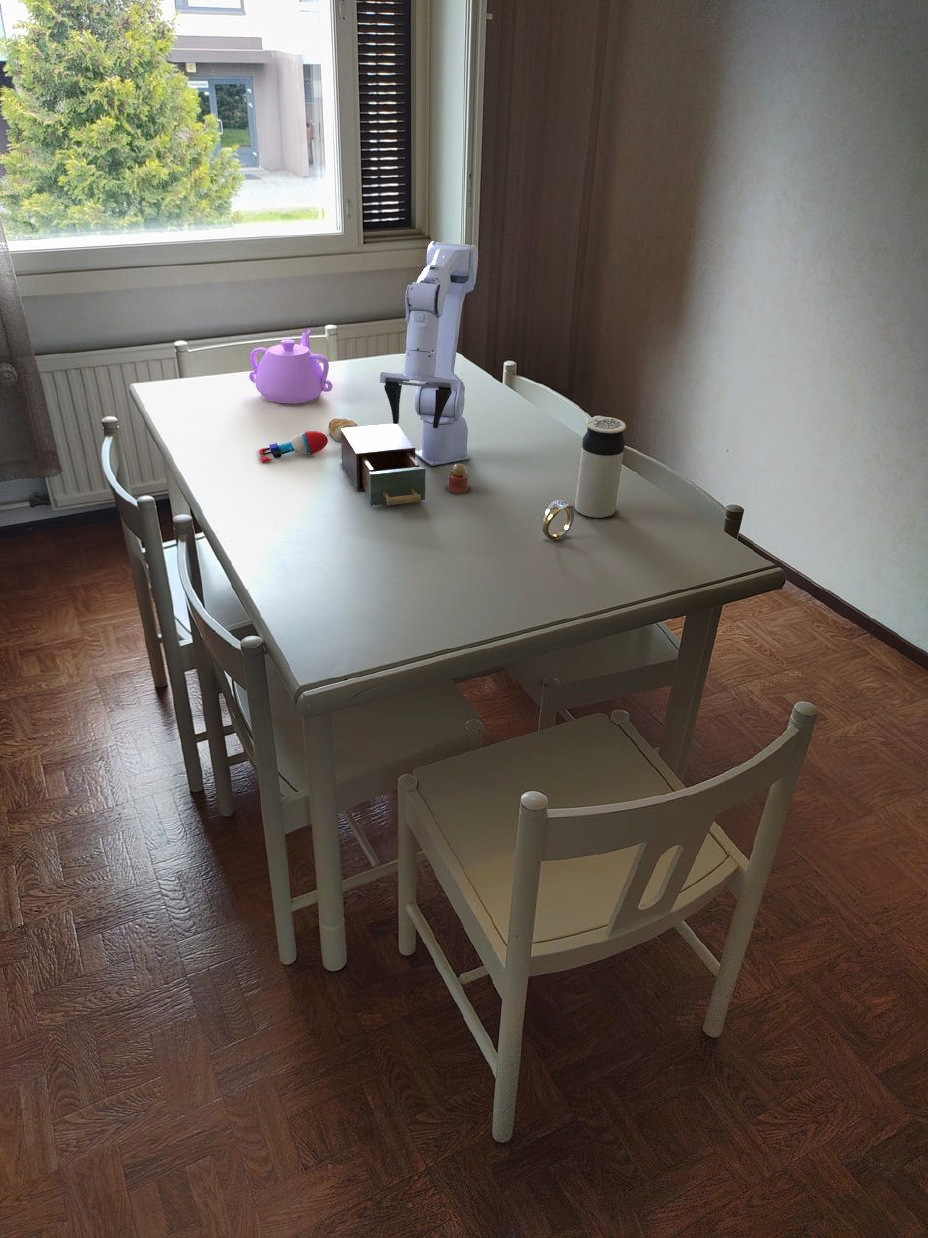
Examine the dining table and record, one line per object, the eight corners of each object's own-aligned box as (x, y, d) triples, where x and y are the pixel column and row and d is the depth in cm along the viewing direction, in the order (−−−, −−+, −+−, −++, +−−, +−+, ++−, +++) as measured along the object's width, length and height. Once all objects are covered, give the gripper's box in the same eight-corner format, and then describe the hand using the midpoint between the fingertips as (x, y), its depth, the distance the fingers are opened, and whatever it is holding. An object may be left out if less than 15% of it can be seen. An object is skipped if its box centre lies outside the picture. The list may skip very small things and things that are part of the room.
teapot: (350, 384, 237) (348, 331, 229) (320, 412, 219) (317, 355, 211) (271, 375, 241) (267, 322, 233) (236, 401, 223) (230, 345, 215)
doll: (461, 483, 188) (462, 458, 185) (471, 491, 185) (472, 465, 182) (444, 487, 186) (445, 461, 183) (454, 494, 183) (455, 469, 180)
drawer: (431, 509, 176) (432, 478, 172) (376, 516, 172) (376, 484, 169) (406, 473, 189) (406, 443, 186) (355, 479, 186) (354, 448, 182)
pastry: (321, 429, 210) (321, 413, 208) (349, 425, 213) (348, 409, 211) (336, 443, 203) (336, 427, 201) (364, 439, 206) (364, 423, 204)
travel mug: (622, 511, 180) (635, 424, 170) (597, 522, 175) (609, 434, 166) (591, 497, 185) (602, 412, 175) (566, 508, 180) (576, 422, 170)
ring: (546, 547, 166) (550, 507, 162) (536, 539, 168) (539, 500, 164) (576, 538, 170) (581, 499, 165) (565, 531, 172) (569, 492, 167)
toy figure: (264, 471, 193) (332, 454, 195) (258, 449, 190) (327, 432, 193) (260, 459, 199) (327, 443, 202) (254, 438, 197) (322, 422, 199)
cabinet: (415, 485, 186) (415, 447, 182) (357, 491, 183) (356, 453, 178) (396, 459, 197) (396, 423, 193) (341, 464, 194) (340, 428, 189)
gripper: (378, 347, 165) (373, 423, 169) (457, 354, 164) (450, 431, 168) (386, 347, 172) (381, 420, 176) (461, 355, 170) (455, 428, 174)
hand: (415, 425), depth 172 cm, fingers open, 7 cm apart
